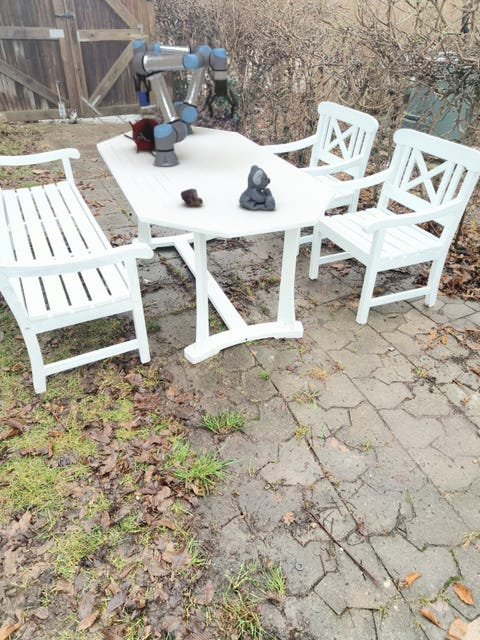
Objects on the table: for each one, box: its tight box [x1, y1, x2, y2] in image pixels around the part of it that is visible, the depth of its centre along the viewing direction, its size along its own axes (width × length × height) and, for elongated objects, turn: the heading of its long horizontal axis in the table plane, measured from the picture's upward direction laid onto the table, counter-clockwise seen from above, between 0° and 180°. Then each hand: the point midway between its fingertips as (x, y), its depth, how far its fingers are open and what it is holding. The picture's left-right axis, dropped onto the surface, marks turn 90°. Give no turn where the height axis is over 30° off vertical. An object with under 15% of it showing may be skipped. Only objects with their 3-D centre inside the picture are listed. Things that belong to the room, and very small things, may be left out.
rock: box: [180, 188, 204, 207], centre depth 229 cm, size 12×9×10 cm
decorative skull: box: [128, 117, 161, 154], centre depth 321 cm, size 21×24×25 cm
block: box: [137, 89, 151, 107], centre depth 332 cm, size 7×5×10 cm
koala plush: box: [238, 164, 276, 211], centre depth 224 cm, size 17×18×20 cm
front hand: (221, 118), depth 276 cm, fingers open, 13 cm apart
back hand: (144, 101), depth 333 cm, fingers closed on block, 5 cm apart
